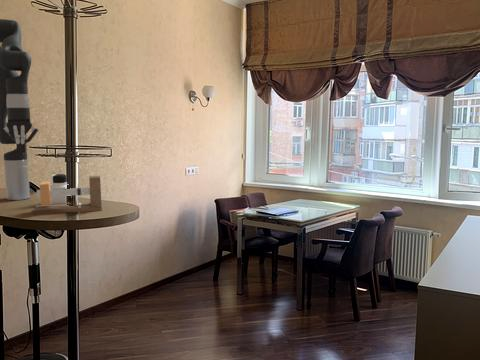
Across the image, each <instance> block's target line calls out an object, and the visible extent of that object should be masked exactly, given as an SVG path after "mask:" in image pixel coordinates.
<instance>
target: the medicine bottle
mask: <svg viewBox="0 0 480 360" xmlns="http://www.w3.org/2000/svg"><path fill="white" fill-rule="evenodd" d="M66 176H67V175H66V174H64V173H57V174H52V175H51V176H50V187H51V189H67V185H68V178H67V177H66ZM55 204H66V196H52V197H51V204H50V205H55Z"/></svg>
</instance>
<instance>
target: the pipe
mask: <svg viewBox="0 0 480 360" xmlns="http://www.w3.org/2000/svg"><path fill="white" fill-rule="evenodd" d="M52 196H71V197H72V196H90V187H77V188H76V187H73V188H70V189H50V197H52ZM36 198H41V195H40V189H37V190H36Z"/></svg>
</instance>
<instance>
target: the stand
mask: <svg viewBox="0 0 480 360" xmlns="http://www.w3.org/2000/svg"><path fill="white" fill-rule="evenodd" d="M88 177H89V179H88V181H89V188H90V195H89V200H90V202H77V203H78V205H76V206H69V205H67V204H68V203H67V204H50V205H45V206H41V204H39V205H35V208H34V209H33V215H49V214H63V213H64V214H65V213H66V214H67V213H79V212H96V211H97V212H99V211H102V210H103V207H102V190H101V189H102V188H101V176H100V175H89V176H88Z"/></svg>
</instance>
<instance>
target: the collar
mask: <svg viewBox="0 0 480 360" xmlns="http://www.w3.org/2000/svg"><path fill="white" fill-rule="evenodd" d="M50 186H51V180H47V181H41V182H40V184H39V190H40V195H41V197H40V205H41V206H45V205H52V204H51V197H50V189H51V187H50Z"/></svg>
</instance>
